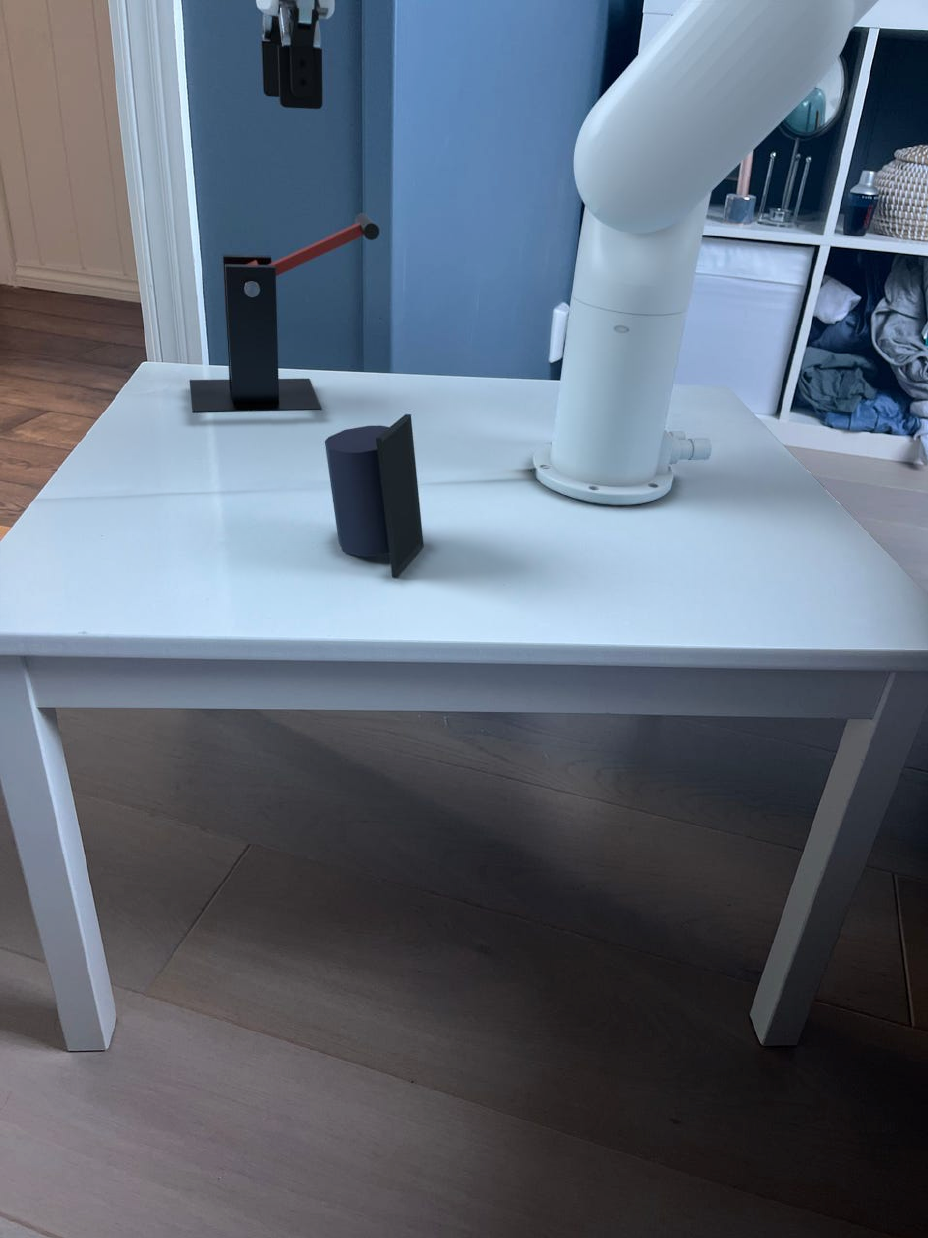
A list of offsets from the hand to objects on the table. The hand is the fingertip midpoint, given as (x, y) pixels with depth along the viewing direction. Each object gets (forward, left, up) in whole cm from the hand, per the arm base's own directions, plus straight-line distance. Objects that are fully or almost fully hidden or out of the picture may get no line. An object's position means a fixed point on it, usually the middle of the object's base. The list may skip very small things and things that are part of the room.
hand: (291, 101), depth 78 cm
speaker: (-2, +25, -28) cm, 38 cm away
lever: (-2, -6, -14) cm, 15 cm away
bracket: (+4, -6, -27) cm, 28 cm away
